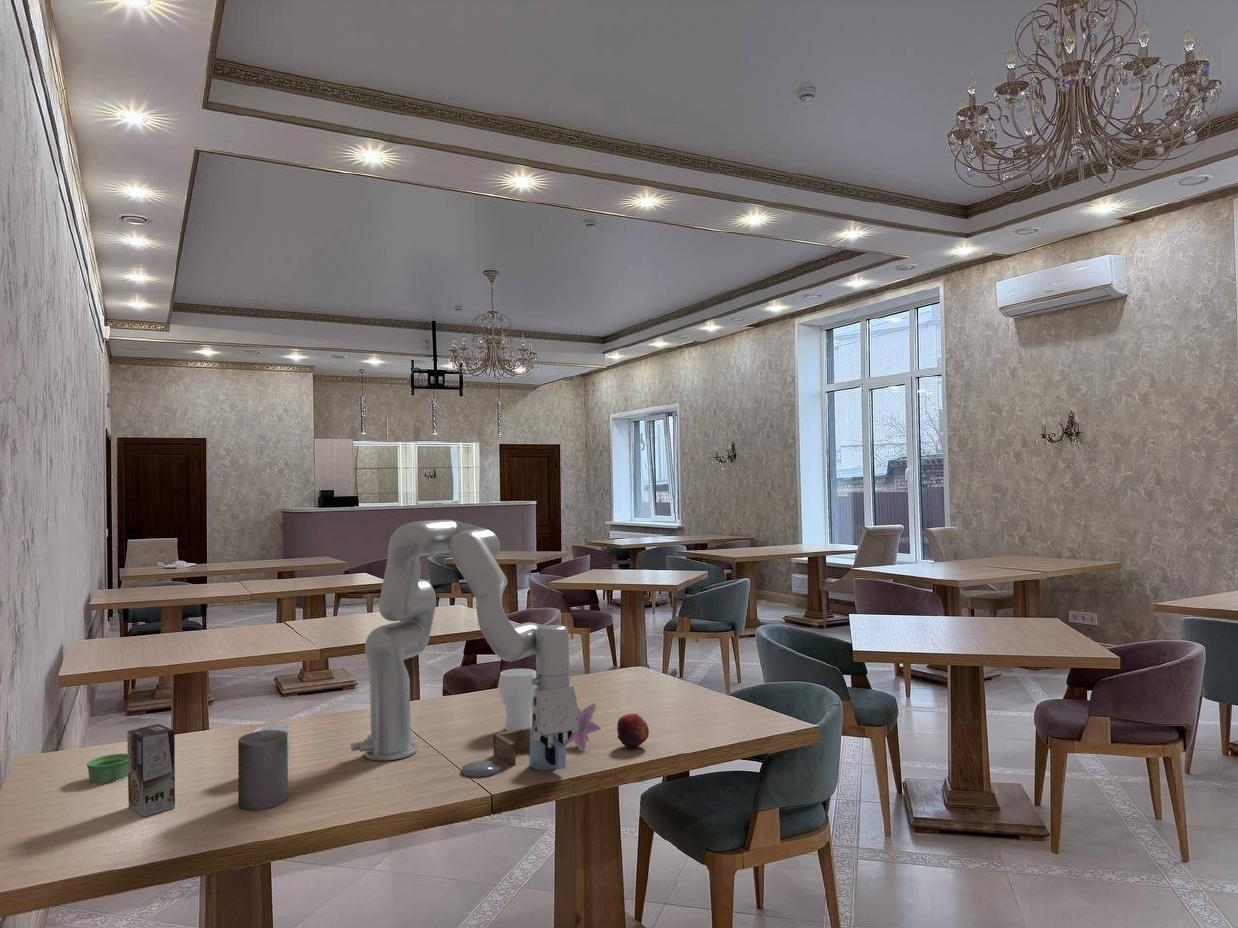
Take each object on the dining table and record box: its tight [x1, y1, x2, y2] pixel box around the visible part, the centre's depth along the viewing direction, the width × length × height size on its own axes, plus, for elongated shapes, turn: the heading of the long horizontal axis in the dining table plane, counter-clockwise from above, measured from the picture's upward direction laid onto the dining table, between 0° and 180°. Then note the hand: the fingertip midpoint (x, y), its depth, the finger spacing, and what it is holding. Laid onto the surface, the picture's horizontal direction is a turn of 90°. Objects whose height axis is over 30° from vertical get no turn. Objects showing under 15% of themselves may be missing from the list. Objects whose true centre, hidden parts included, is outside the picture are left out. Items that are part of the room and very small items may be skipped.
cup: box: [498, 668, 537, 732], centre depth 223 cm, size 11×11×15 cm
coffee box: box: [126, 723, 176, 818], centre depth 172 cm, size 9×6×16 cm
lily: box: [566, 702, 602, 751], centre depth 208 cm, size 12×12×10 cm
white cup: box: [253, 724, 291, 760], centre depth 192 cm, size 8×8×10 cm
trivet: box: [461, 760, 503, 778], centre depth 189 cm, size 9×9×1 cm
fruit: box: [616, 713, 650, 749], centre depth 204 cm, size 8×8×8 cm
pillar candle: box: [237, 730, 289, 811], centre depth 174 cm, size 10×10×15 cm
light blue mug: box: [529, 728, 567, 772], centre depth 189 cm, size 7×12×8 cm, turn 33°
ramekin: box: [86, 753, 128, 784], centre depth 192 cm, size 9×9×4 cm
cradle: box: [492, 727, 532, 766], centre depth 200 cm, size 12×10×5 cm
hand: (555, 761), depth 187 cm, fingers closed on light blue mug
